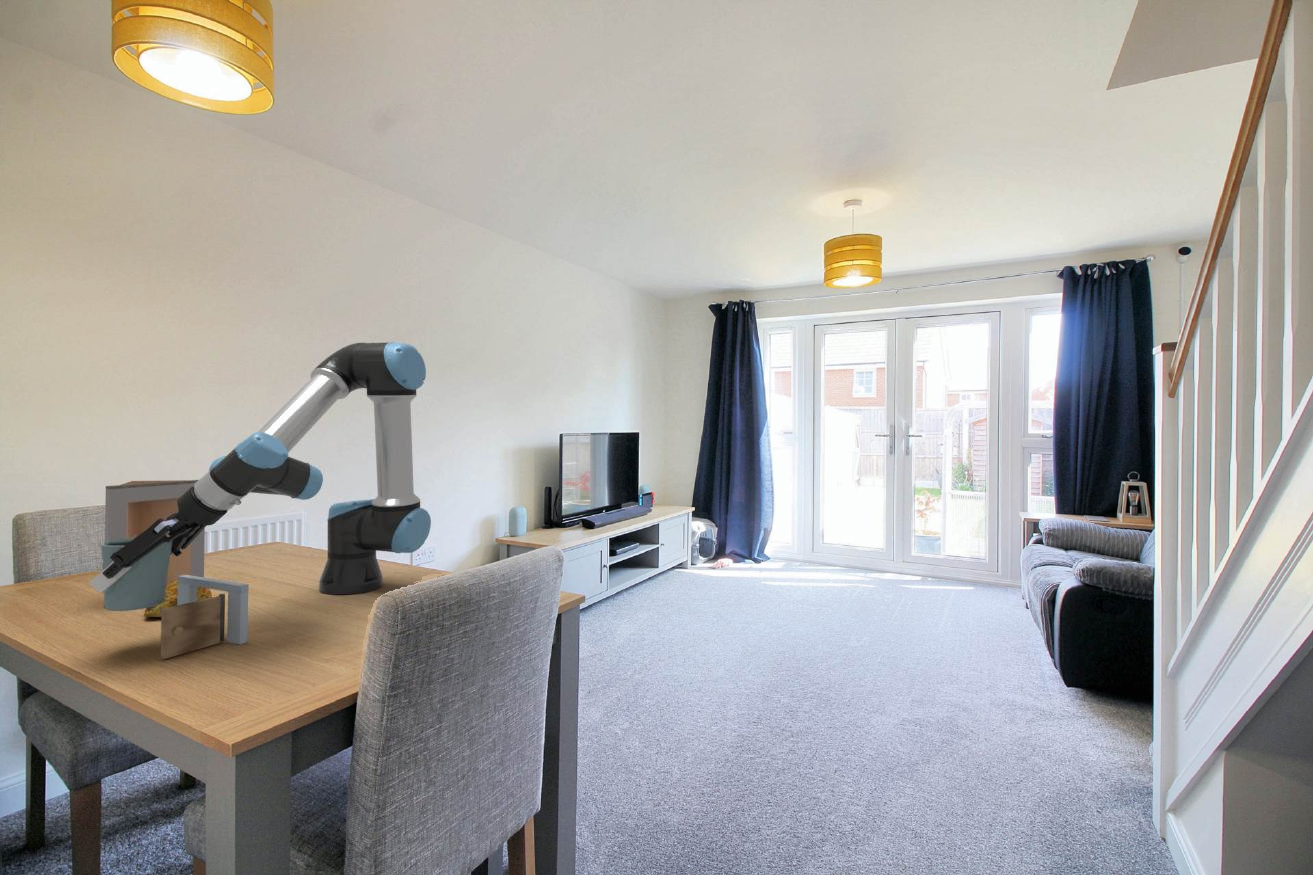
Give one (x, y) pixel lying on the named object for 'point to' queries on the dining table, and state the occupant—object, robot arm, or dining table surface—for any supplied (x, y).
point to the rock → (174, 599)
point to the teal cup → (137, 578)
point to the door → (192, 626)
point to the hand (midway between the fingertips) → (119, 580)
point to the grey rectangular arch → (236, 602)
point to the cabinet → (151, 519)
